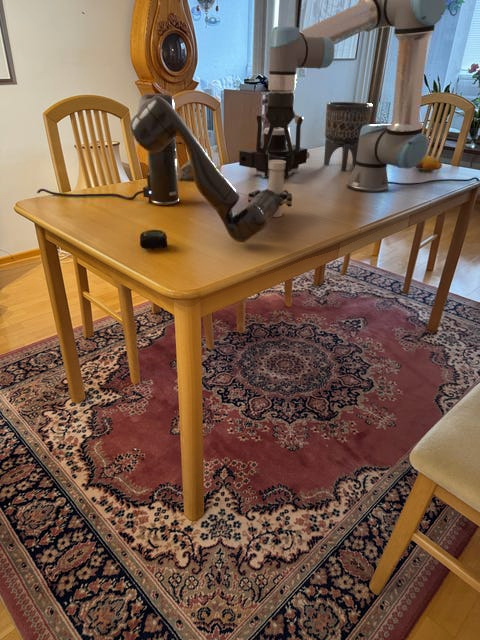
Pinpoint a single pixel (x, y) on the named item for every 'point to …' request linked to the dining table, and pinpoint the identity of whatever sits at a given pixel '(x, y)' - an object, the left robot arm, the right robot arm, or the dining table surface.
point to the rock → (186, 172)
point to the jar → (276, 185)
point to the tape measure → (153, 239)
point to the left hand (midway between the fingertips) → (277, 192)
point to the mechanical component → (273, 153)
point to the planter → (345, 128)
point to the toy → (429, 164)
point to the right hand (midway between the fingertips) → (276, 176)
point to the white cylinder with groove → (277, 164)
